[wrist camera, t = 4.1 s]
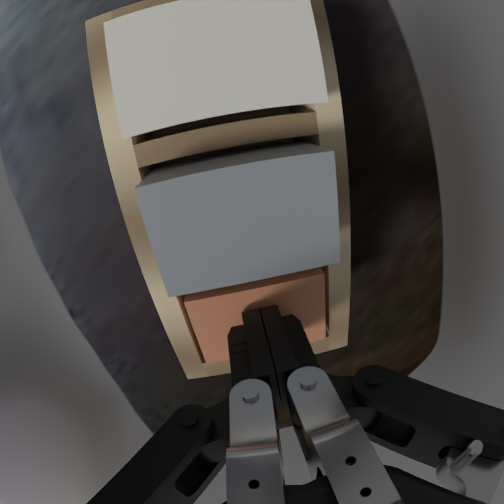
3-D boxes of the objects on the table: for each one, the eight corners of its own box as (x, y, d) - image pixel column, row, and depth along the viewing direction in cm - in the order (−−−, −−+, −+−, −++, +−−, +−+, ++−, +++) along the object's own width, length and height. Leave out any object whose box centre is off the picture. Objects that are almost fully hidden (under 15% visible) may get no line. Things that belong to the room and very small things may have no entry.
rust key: (187, 265, 14) (183, 302, 11) (303, 242, 14) (324, 273, 11) (205, 323, 16) (206, 363, 13) (307, 302, 16) (325, 338, 13)
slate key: (153, 169, 10) (134, 188, 7) (303, 140, 10) (334, 150, 8) (176, 255, 12) (168, 297, 9) (312, 228, 12) (339, 262, 9)
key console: (125, 49, 11) (85, 21, 6) (283, 21, 12) (318, -18, 7) (190, 313, 19) (188, 379, 14) (315, 288, 19) (346, 345, 14)
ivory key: (130, 44, 8) (103, 22, 5) (283, 17, 8) (307, -11, 5) (145, 132, 10) (122, 139, 7) (298, 105, 10) (328, 102, 7)
